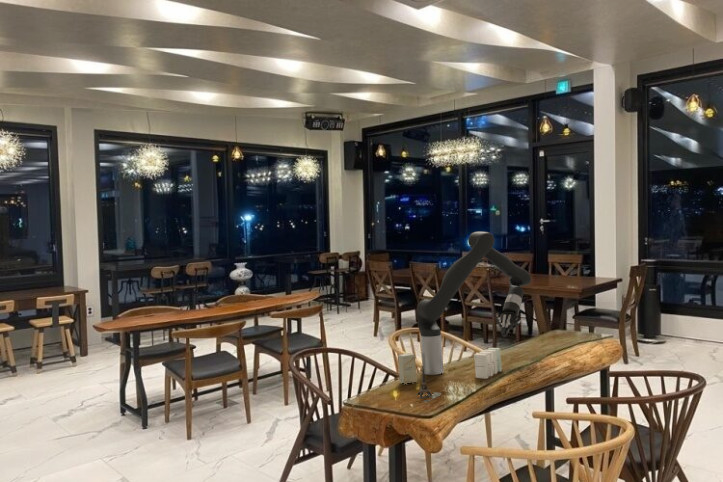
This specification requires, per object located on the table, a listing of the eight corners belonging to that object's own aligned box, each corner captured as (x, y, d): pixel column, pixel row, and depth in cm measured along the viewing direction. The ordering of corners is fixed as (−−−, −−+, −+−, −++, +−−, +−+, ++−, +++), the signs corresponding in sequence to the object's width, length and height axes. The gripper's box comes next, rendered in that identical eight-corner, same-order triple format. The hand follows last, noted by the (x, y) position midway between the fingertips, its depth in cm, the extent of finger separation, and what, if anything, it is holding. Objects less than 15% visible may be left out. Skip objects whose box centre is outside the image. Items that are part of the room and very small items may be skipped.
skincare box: (404, 385, 238) (402, 356, 238) (399, 383, 242) (397, 354, 242) (417, 382, 241) (415, 354, 241) (411, 380, 245) (409, 352, 245)
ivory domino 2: (491, 376, 243) (489, 353, 243) (480, 375, 246) (478, 352, 246) (493, 375, 244) (491, 352, 244) (482, 374, 247) (480, 351, 247)
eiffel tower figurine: (427, 403, 210) (424, 368, 211) (404, 400, 217) (401, 366, 217) (446, 393, 222) (444, 360, 222) (424, 391, 229) (422, 358, 229)
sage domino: (500, 371, 250) (498, 349, 250) (489, 370, 253) (487, 348, 253) (501, 370, 251) (500, 348, 251) (491, 369, 254) (489, 347, 254)
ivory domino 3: (495, 373, 246) (494, 351, 246) (485, 373, 249) (483, 350, 249) (497, 373, 248) (495, 350, 248) (487, 372, 251) (485, 349, 251)
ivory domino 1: (486, 378, 239) (484, 355, 239) (475, 377, 242) (474, 354, 242) (488, 377, 240) (486, 354, 241) (477, 376, 244) (476, 353, 244)
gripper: (496, 300, 272) (487, 330, 263) (523, 301, 264) (514, 331, 254) (502, 310, 276) (493, 339, 267) (528, 310, 268) (519, 341, 258)
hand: (503, 335), depth 261 cm, fingers closed
